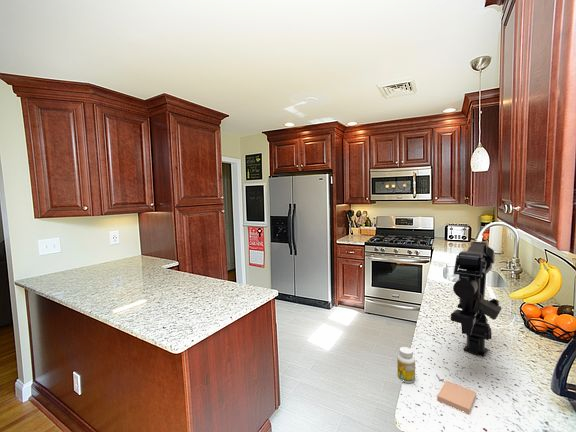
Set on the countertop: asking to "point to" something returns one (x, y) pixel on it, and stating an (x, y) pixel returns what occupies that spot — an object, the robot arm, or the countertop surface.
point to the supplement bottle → (406, 365)
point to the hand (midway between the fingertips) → (468, 335)
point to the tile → (457, 396)
